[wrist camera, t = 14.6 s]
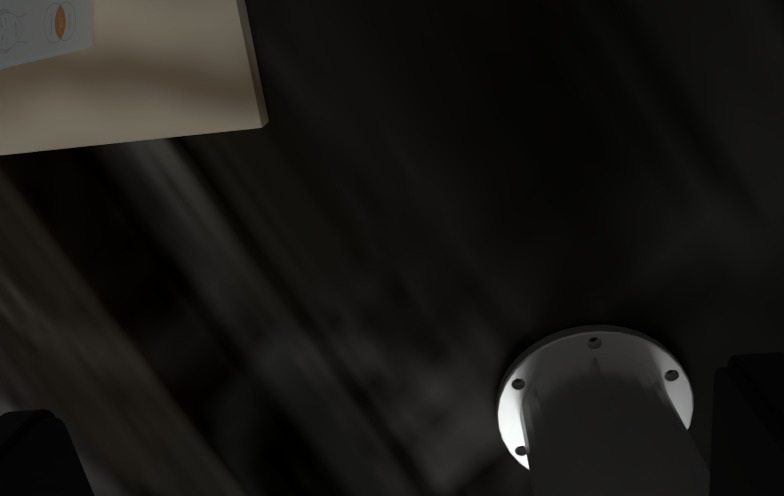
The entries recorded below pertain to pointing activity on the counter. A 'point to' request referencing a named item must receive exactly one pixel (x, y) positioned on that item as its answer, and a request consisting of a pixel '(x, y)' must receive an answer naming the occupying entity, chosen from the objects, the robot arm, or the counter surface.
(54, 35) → the small box
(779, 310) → the counter surface
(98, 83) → the birch board
